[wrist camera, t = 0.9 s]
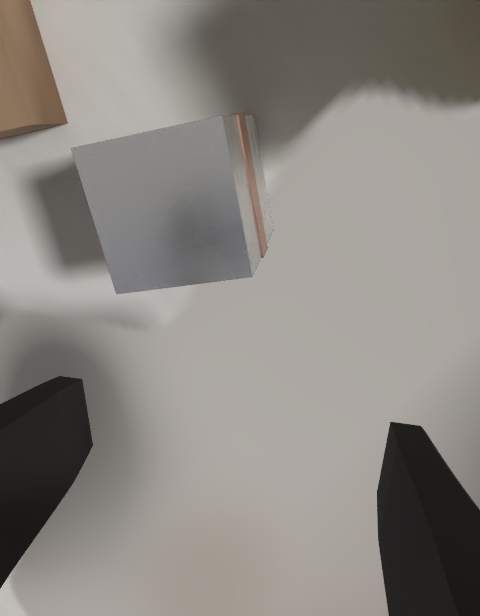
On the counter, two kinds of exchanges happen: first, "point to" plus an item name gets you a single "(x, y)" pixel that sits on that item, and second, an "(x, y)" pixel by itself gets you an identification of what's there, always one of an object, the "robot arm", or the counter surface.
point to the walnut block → (25, 74)
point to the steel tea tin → (179, 203)
